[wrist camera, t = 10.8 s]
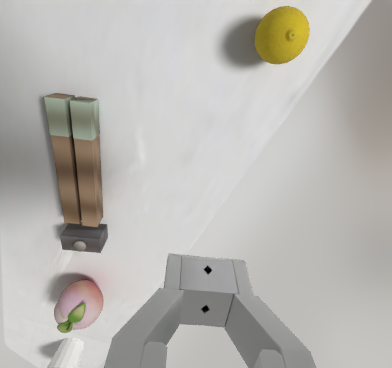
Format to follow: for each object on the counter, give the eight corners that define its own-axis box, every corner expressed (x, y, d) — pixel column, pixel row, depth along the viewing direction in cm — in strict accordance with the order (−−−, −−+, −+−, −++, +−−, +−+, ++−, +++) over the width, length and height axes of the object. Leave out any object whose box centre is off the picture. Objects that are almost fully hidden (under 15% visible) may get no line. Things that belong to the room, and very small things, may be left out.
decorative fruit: (100, 302, 55) (82, 350, 46) (64, 289, 53) (38, 337, 44) (117, 276, 51) (101, 323, 43) (78, 261, 49) (53, 307, 41)
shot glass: (73, 332, 60) (59, 364, 54) (92, 346, 63) (81, 378, 57) (53, 341, 62) (37, 373, 56) (73, 354, 65) (60, 386, 59)
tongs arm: (103, 216, 44) (97, 227, 41) (89, 214, 44) (81, 225, 41) (98, 99, 34) (89, 103, 32) (79, 96, 34) (69, 100, 32)
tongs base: (52, 92, 34) (33, 98, 30) (99, 98, 35) (87, 104, 31) (72, 234, 46) (60, 251, 42) (107, 237, 46) (99, 255, 42)
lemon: (252, 67, 33) (268, 72, 26) (245, 19, 30) (260, 10, 23) (294, 55, 32) (322, 57, 25) (291, 5, 30) (321, -9, 23)
